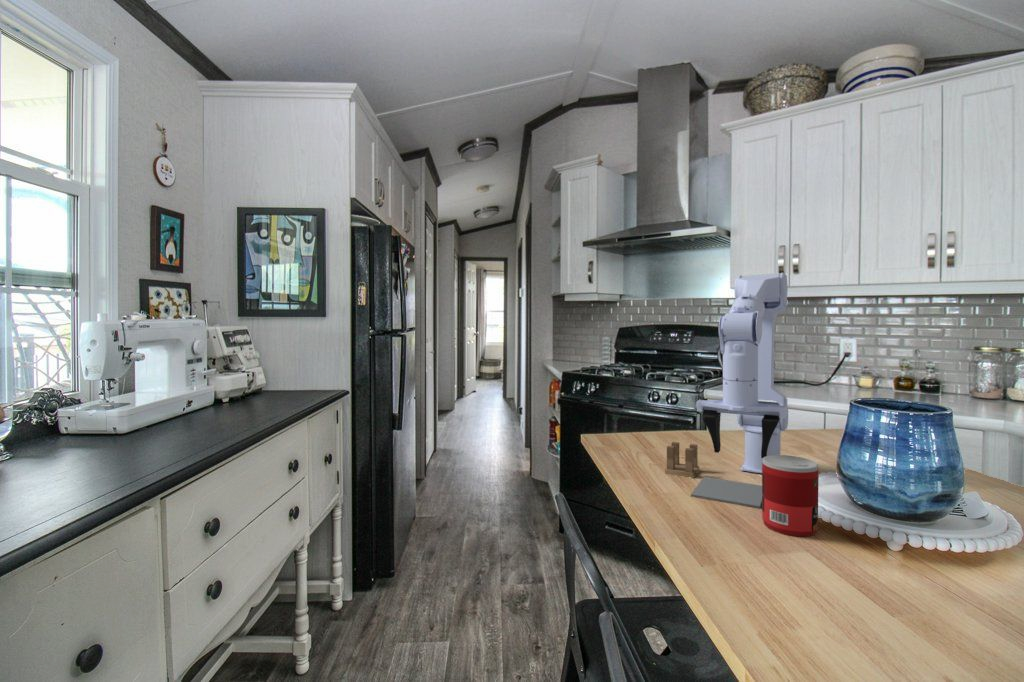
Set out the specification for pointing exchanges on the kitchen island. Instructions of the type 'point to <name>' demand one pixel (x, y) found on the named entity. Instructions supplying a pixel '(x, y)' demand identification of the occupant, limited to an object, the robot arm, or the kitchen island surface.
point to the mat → (729, 492)
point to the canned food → (790, 495)
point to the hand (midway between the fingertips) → (740, 454)
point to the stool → (682, 469)
